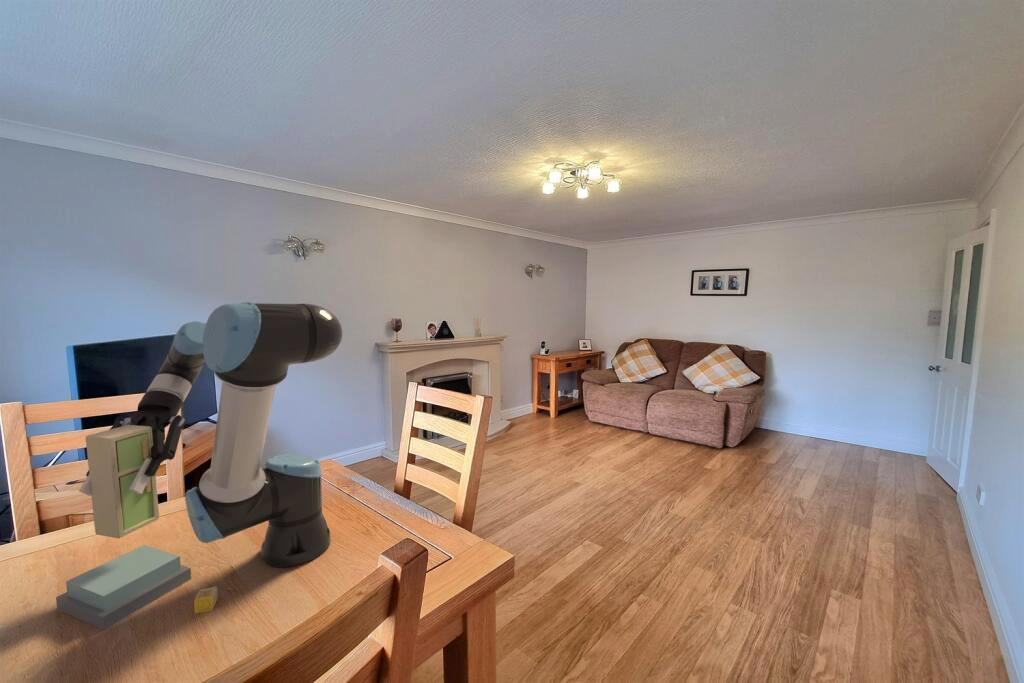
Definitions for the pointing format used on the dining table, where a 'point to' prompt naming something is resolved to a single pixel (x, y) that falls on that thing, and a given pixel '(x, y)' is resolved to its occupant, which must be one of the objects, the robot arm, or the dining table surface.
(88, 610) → the brick stand
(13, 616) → the dining table surface
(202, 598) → the alphabet block
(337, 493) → the dining table surface
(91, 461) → the toy refrigerator
